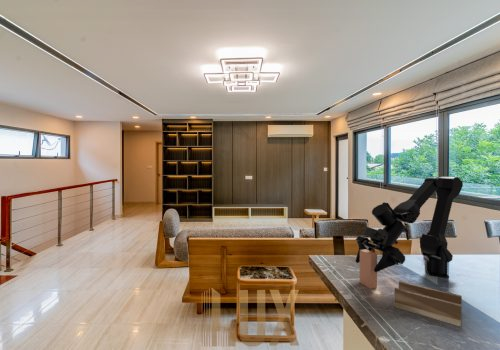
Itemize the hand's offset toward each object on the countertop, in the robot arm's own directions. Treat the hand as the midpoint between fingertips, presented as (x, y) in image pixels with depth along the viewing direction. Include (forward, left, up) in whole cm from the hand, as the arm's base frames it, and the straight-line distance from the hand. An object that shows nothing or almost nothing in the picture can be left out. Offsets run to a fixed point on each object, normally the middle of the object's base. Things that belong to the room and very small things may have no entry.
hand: (365, 266), depth 95 cm
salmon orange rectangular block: (-1, -1, -7) cm, 7 cm away
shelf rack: (-16, +11, -7) cm, 21 cm away
